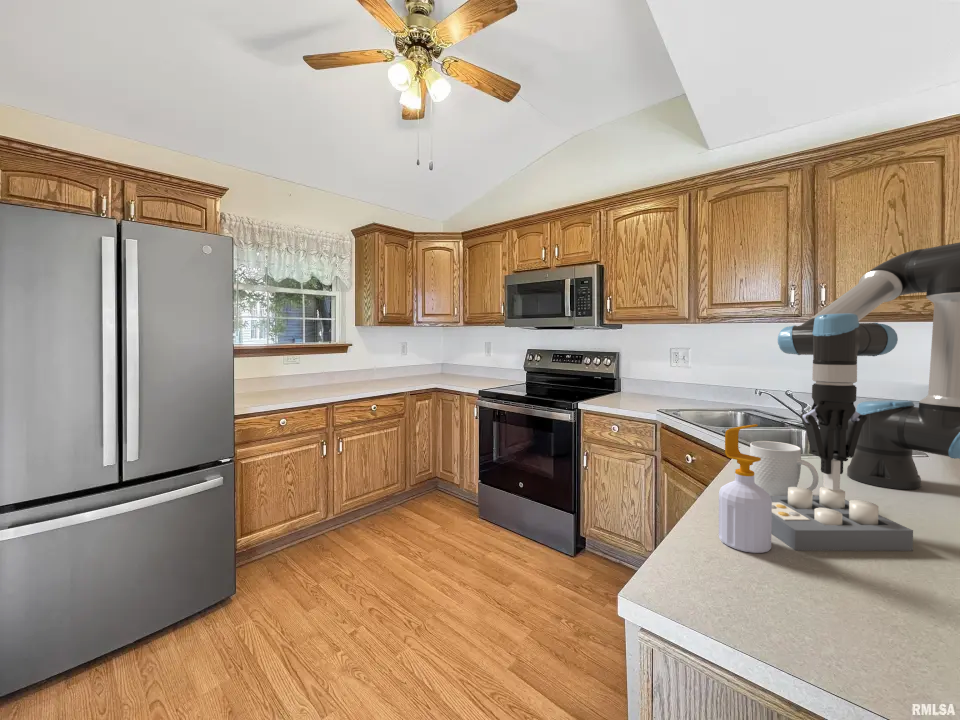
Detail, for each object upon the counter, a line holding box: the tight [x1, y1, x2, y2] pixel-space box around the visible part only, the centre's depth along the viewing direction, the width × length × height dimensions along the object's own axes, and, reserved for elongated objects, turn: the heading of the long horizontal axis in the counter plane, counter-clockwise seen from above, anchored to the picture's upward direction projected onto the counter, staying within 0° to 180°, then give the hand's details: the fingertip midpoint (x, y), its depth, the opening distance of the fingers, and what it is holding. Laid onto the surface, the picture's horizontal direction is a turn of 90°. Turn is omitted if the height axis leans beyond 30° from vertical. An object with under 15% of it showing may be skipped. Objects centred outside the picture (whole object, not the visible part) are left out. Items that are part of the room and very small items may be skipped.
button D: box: [814, 508, 842, 525], centre depth 85 cm, size 4×4×4 cm
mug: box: [749, 440, 819, 496], centre depth 108 cm, size 15×11×13 cm
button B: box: [848, 499, 879, 525], centre depth 85 cm, size 4×4×4 cm
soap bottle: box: [718, 423, 772, 554], centre depth 84 cm, size 9×9×25 cm
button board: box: [770, 495, 914, 552], centre depth 89 cm, size 22×18×4 cm
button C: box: [788, 486, 814, 509], centre depth 93 cm, size 4×4×4 cm
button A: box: [818, 486, 846, 509], centre depth 93 cm, size 4×4×4 cm
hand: (831, 487), depth 92 cm, fingers closed
